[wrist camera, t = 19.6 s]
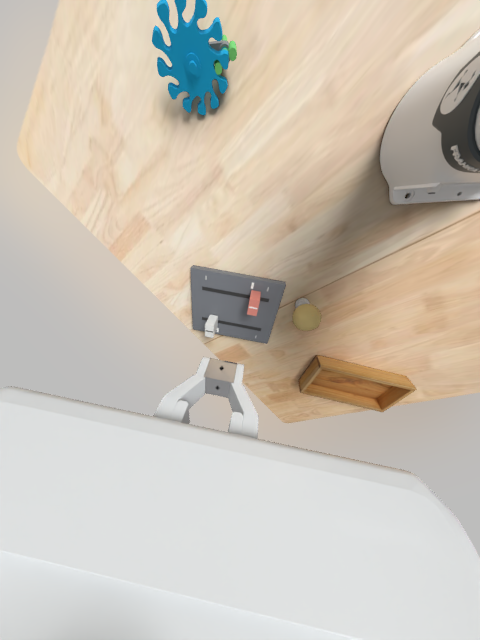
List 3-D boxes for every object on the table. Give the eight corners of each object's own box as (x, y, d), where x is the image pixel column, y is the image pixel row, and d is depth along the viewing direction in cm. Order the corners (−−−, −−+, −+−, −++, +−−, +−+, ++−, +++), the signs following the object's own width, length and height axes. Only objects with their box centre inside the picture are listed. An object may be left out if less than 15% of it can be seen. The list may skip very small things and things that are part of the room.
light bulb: (314, 311, 47) (324, 334, 39) (290, 314, 48) (295, 337, 40) (313, 290, 43) (324, 310, 35) (288, 294, 45) (292, 315, 37)
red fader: (260, 291, 43) (259, 300, 39) (257, 306, 46) (256, 316, 42) (251, 290, 43) (249, 299, 39) (248, 304, 46) (246, 314, 42)
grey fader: (218, 315, 49) (213, 326, 45) (217, 327, 52) (213, 338, 48) (210, 314, 49) (205, 324, 45) (209, 326, 52) (204, 336, 48)
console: (285, 282, 43) (285, 285, 41) (267, 339, 55) (267, 343, 53) (193, 265, 44) (190, 267, 42) (195, 325, 56) (192, 329, 54)
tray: (405, 375, 56) (418, 390, 51) (375, 398, 65) (383, 413, 60) (316, 352, 56) (320, 366, 51) (297, 379, 65) (300, 392, 60)
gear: (173, 121, 28) (133, -2, 18) (173, 95, 29) (136, -34, 20) (239, 114, 28) (234, -15, 18) (237, 88, 29) (231, -47, 19)
